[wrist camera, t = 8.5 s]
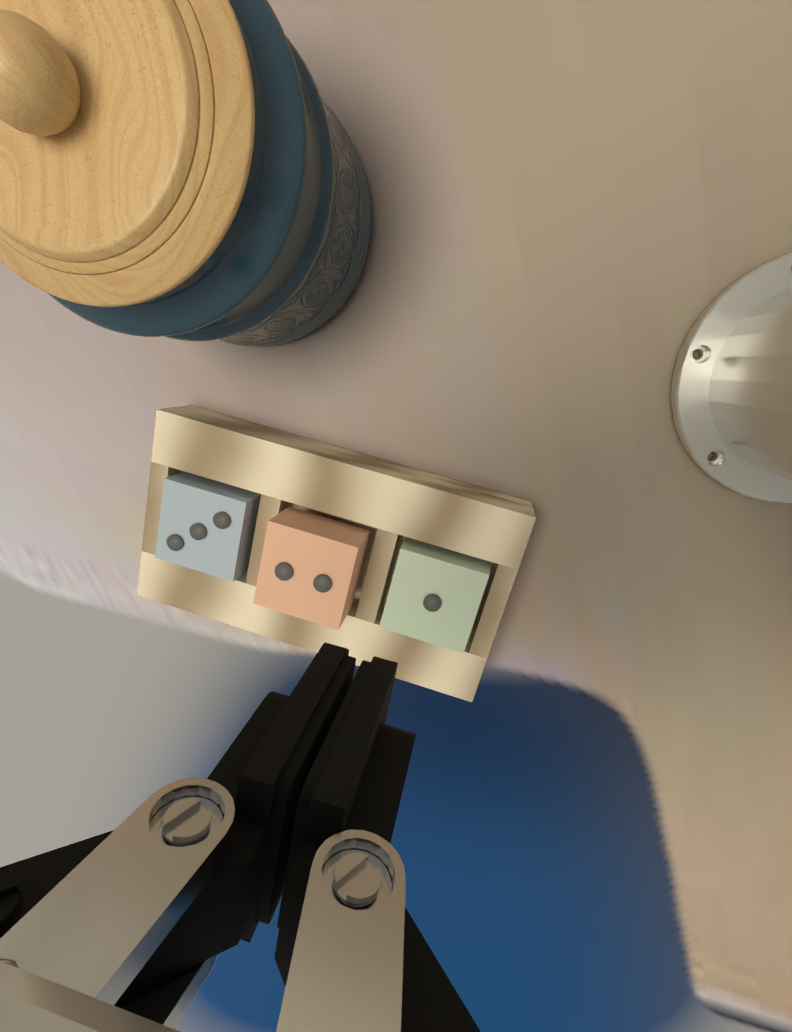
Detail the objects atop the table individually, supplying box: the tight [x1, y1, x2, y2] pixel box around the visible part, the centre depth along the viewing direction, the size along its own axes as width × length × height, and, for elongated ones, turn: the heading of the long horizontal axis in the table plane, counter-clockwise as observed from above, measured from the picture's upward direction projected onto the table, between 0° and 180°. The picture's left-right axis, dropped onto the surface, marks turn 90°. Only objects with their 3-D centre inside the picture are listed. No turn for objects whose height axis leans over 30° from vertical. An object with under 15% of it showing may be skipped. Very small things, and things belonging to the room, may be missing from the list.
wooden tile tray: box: [137, 405, 536, 702], centre depth 33 cm, size 22×12×4 cm, turn 76°
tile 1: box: [379, 537, 490, 653], centre depth 31 cm, size 5×5×3 cm
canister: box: [0, 0, 371, 346], centre depth 21 cm, size 13×13×18 cm
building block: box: [155, 471, 261, 582], centre depth 32 cm, size 5×5×3 cm
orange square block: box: [253, 507, 370, 630], centre depth 30 cm, size 5×5×3 cm
